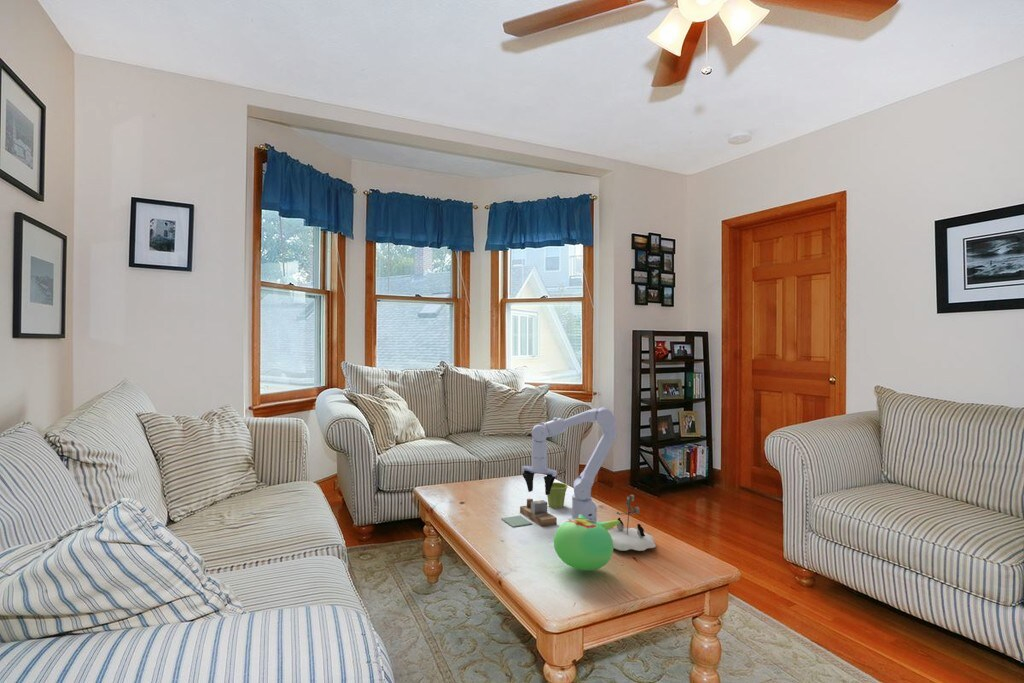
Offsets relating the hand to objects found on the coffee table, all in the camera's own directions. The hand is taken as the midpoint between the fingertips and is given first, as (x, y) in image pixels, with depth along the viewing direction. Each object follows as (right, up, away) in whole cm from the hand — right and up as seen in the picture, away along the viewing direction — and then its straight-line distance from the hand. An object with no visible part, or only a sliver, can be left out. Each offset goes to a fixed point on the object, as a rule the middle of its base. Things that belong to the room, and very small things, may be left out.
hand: (539, 492), depth 202 cm
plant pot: (+8, -10, +16) cm, 20 cm away
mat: (-9, -10, -3) cm, 14 cm away
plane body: (0, -10, +1) cm, 10 cm away
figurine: (+28, -11, -23) cm, 38 cm away
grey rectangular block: (0, -8, 0) cm, 8 cm away
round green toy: (+11, -10, -43) cm, 46 cm away
